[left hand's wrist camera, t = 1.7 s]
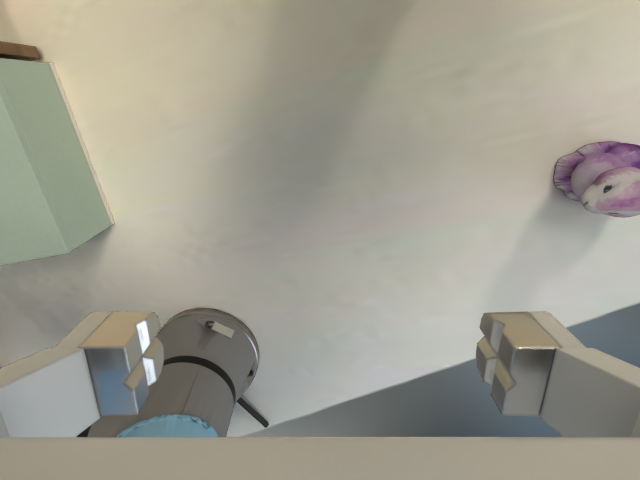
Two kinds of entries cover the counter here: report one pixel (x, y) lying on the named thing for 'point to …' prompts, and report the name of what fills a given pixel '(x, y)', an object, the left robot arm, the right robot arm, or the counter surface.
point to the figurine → (602, 178)
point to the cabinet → (43, 168)
